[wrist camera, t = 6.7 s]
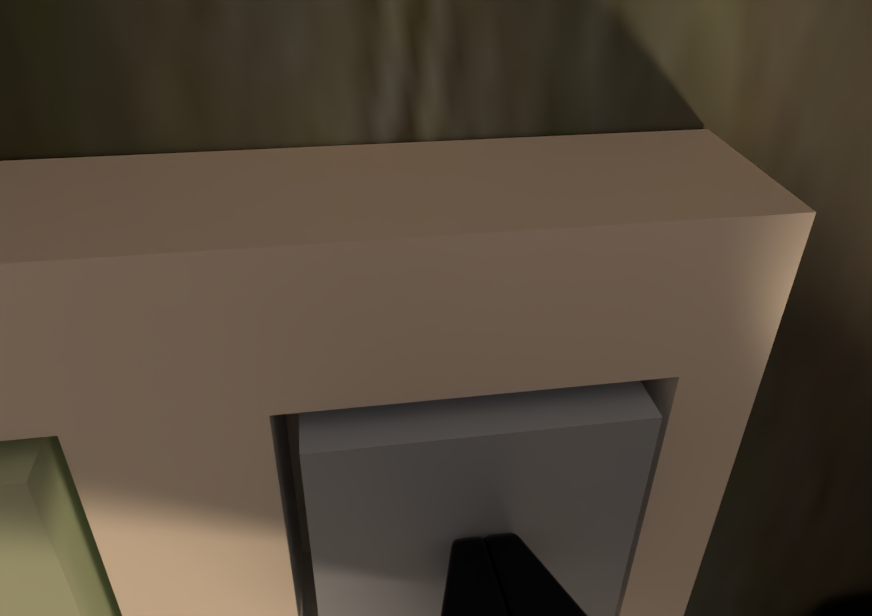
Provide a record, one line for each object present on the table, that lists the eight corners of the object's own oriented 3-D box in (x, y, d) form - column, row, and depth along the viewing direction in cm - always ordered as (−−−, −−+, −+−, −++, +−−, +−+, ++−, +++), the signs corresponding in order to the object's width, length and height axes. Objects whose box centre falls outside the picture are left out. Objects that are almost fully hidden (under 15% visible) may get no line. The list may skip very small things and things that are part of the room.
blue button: (603, 320, 10) (662, 417, 9) (569, 524, 13) (610, 630, 11) (297, 346, 10) (299, 454, 8) (320, 554, 12) (325, 671, 10)
